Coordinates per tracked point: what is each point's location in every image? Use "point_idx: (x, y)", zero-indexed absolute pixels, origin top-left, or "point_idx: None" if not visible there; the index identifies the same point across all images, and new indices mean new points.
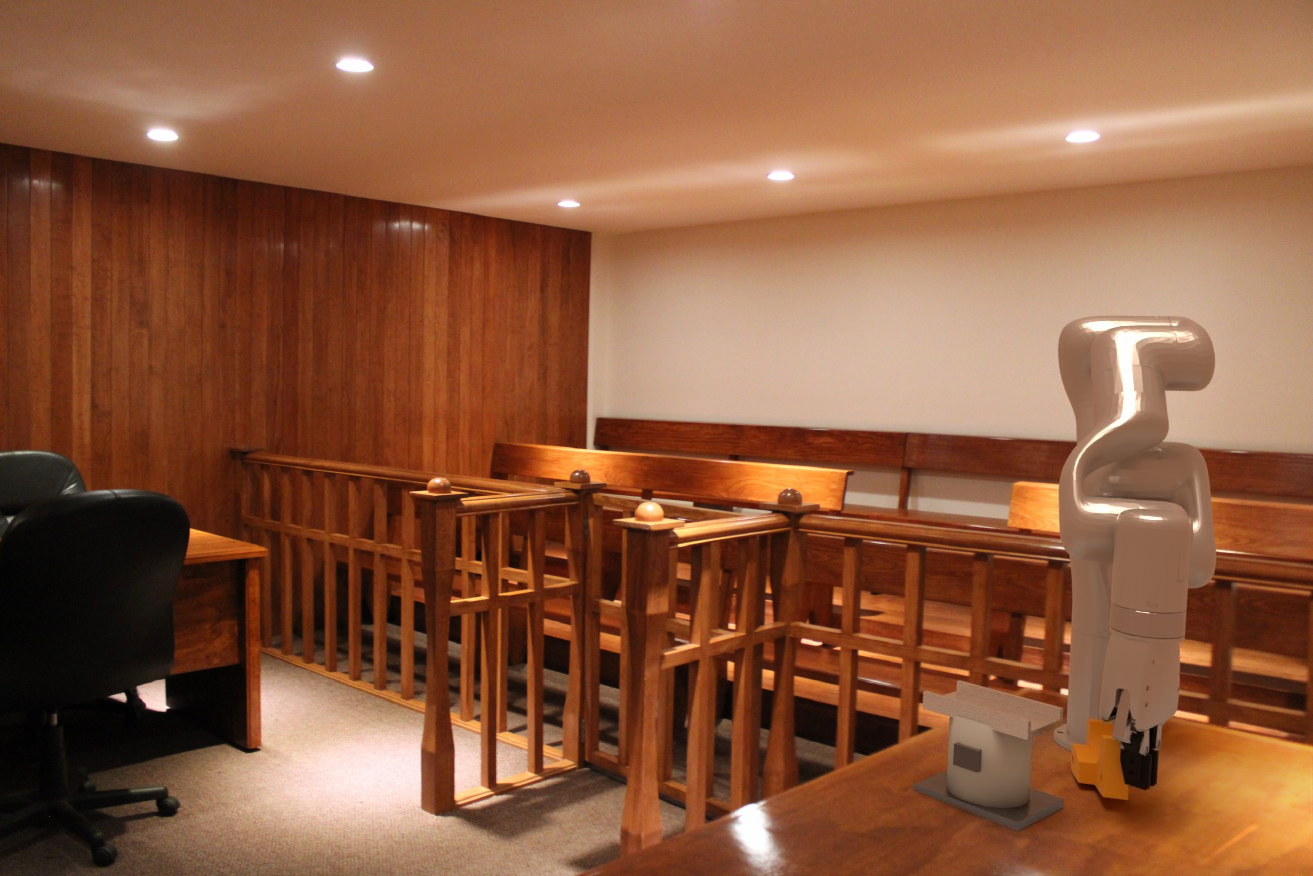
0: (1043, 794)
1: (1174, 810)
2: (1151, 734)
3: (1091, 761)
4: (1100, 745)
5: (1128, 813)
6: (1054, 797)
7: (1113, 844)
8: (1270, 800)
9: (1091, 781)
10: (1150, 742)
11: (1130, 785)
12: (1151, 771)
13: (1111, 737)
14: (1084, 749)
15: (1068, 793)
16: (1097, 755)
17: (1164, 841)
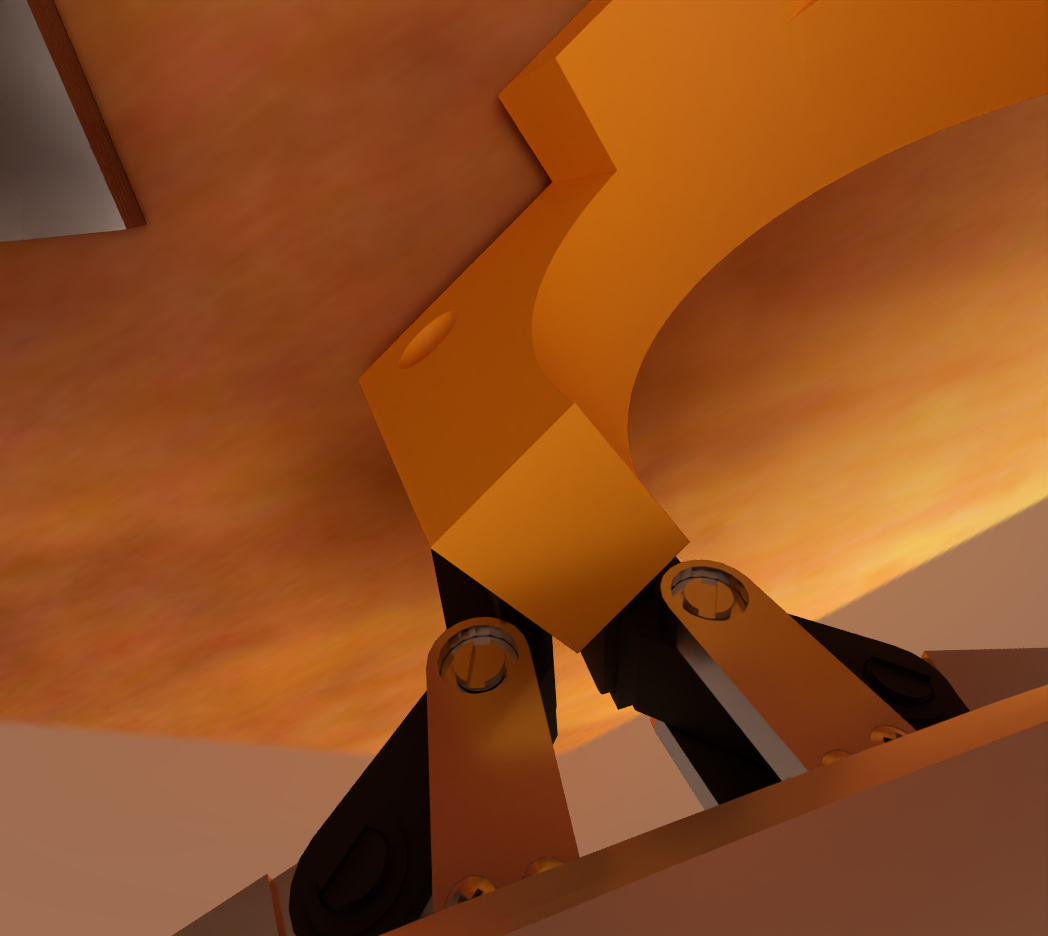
0: (1, 75)
1: None
2: (733, 738)
3: (652, 111)
4: (882, 54)
5: None
6: (68, 169)
7: (81, 598)
8: (886, 536)
9: (551, 162)
10: (658, 719)
11: None
12: None
13: (559, 521)
14: None
15: (380, 94)
16: (761, 93)
17: (331, 627)
